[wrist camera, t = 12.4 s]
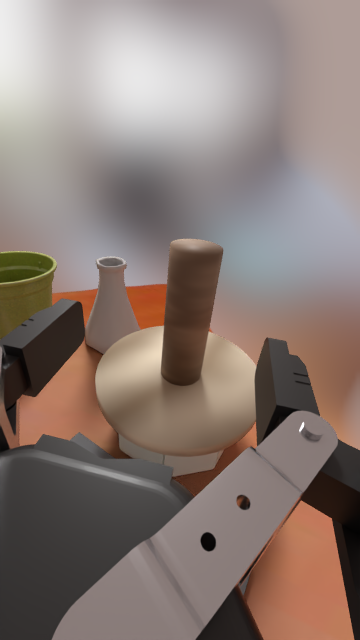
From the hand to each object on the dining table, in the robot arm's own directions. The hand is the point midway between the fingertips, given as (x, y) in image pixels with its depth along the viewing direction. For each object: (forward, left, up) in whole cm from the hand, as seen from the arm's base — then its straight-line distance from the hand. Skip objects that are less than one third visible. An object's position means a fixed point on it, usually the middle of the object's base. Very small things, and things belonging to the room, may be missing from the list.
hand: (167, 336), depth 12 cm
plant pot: (-24, +6, -14) cm, 29 cm away
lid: (-2, +6, -9) cm, 11 cm away
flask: (-15, +12, -14) cm, 24 cm away
